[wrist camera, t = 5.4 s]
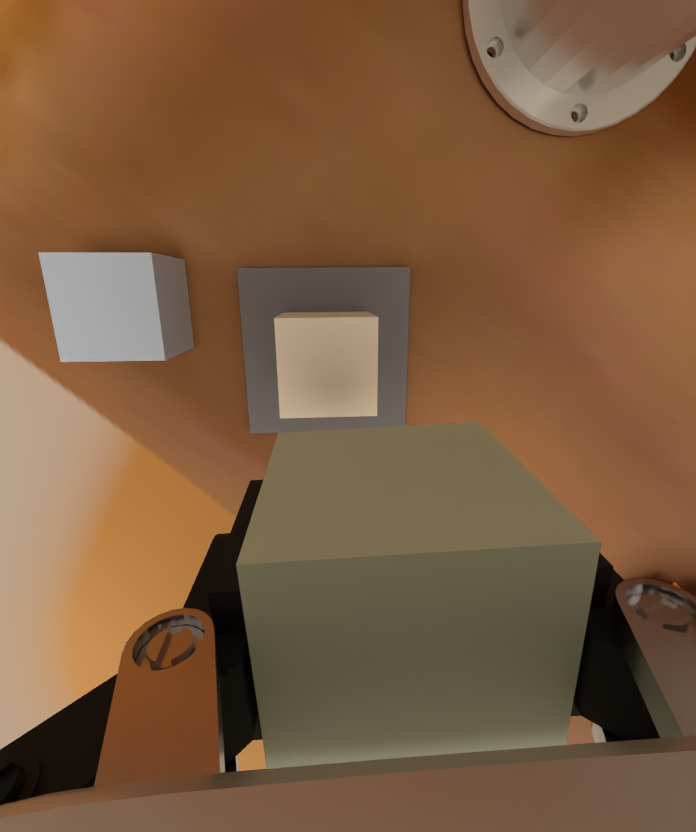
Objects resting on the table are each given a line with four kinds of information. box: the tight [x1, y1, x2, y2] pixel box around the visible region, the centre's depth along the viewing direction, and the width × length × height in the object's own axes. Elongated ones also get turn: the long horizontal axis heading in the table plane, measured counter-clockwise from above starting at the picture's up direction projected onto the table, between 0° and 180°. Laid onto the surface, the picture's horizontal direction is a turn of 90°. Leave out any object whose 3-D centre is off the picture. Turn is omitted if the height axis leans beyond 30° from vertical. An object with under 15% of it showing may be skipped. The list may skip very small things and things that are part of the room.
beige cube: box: [274, 311, 378, 419], centre depth 23 cm, size 5×5×5 cm
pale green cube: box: [236, 422, 601, 769], centre depth 9 cm, size 5×5×5 cm
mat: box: [237, 267, 411, 434], centre depth 26 cm, size 10×10×1 cm
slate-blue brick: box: [38, 252, 194, 362], centre depth 22 cm, size 5×5×5 cm
